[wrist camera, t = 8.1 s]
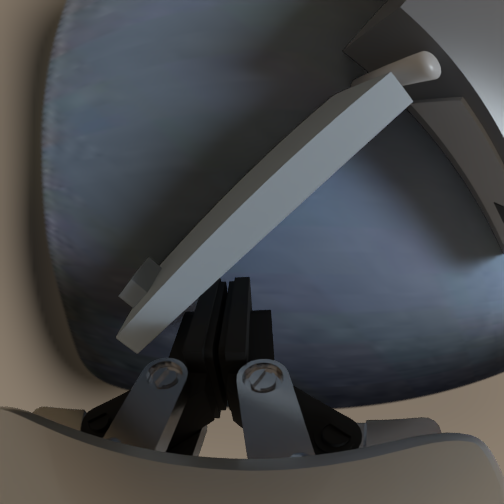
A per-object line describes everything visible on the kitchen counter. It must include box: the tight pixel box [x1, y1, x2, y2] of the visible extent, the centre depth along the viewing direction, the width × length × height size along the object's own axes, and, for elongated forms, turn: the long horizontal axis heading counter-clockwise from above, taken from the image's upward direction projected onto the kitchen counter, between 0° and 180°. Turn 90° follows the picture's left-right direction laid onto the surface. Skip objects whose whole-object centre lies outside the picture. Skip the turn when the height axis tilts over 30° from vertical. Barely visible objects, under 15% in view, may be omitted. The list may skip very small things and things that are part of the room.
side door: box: [116, 72, 413, 354], centre depth 8 cm, size 11×2×5 cm, turn 135°
